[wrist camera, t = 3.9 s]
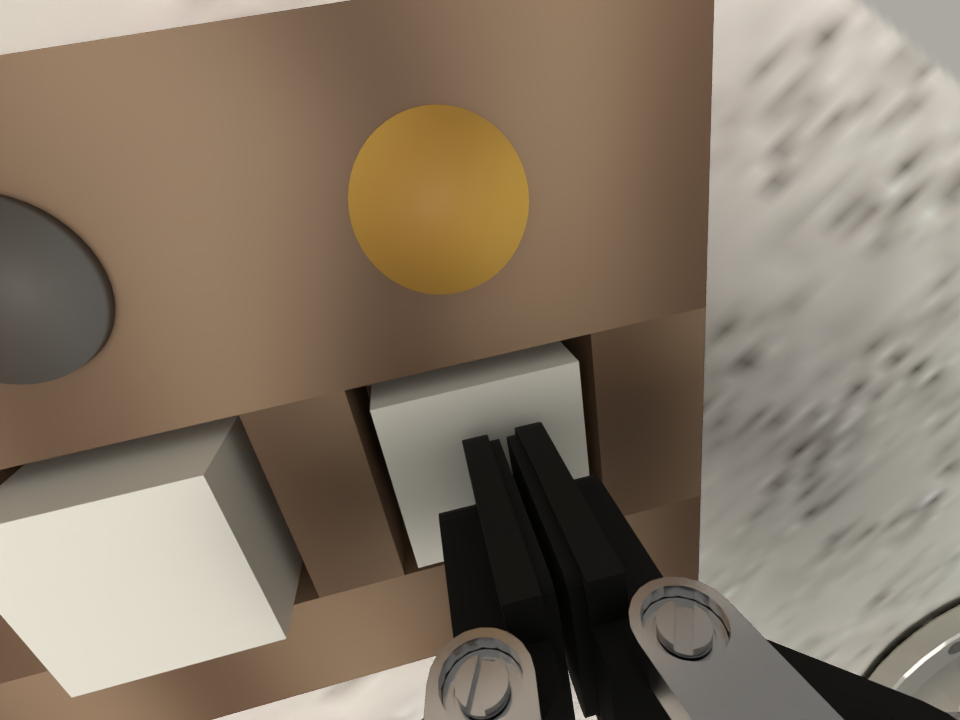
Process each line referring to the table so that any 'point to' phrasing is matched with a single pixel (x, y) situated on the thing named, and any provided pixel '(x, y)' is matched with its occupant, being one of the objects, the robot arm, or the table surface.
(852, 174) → the table surface
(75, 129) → the button board
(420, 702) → the table surface
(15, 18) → the table surface
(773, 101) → the table surface
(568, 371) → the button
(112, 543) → the button middle
